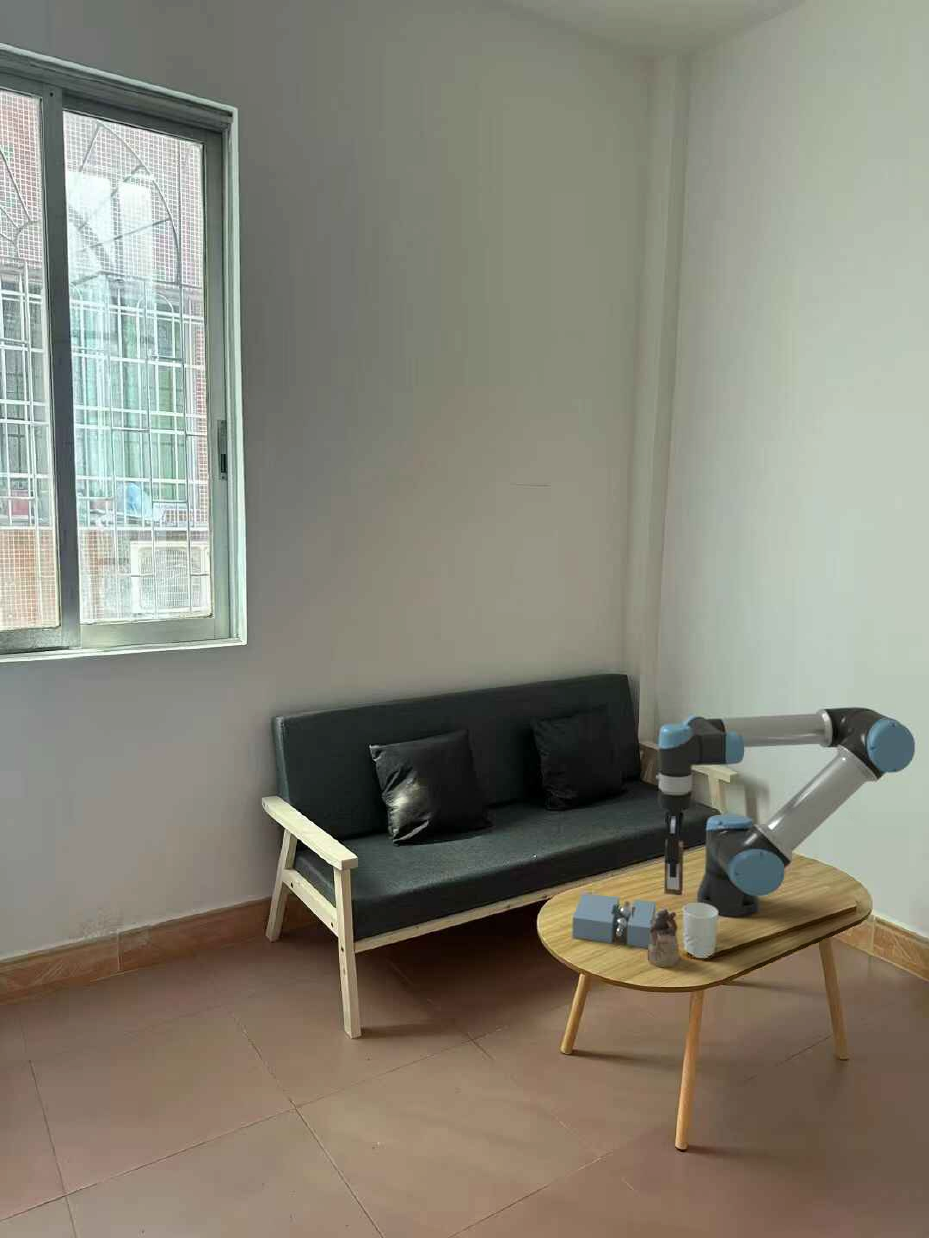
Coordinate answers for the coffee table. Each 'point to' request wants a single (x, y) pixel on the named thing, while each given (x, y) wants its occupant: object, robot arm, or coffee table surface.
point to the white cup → (699, 929)
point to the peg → (673, 891)
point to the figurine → (663, 940)
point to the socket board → (612, 919)
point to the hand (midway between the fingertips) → (673, 884)
